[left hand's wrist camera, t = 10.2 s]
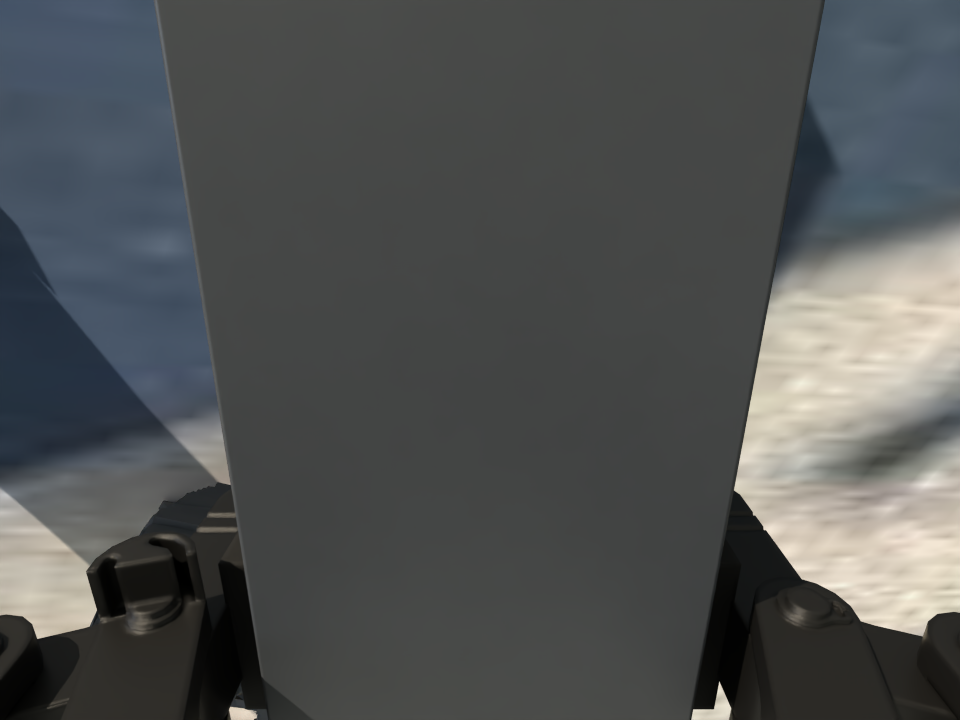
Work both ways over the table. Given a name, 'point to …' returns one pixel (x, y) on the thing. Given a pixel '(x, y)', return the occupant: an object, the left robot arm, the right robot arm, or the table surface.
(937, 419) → the table surface
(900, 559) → the table surface
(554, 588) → the beam
